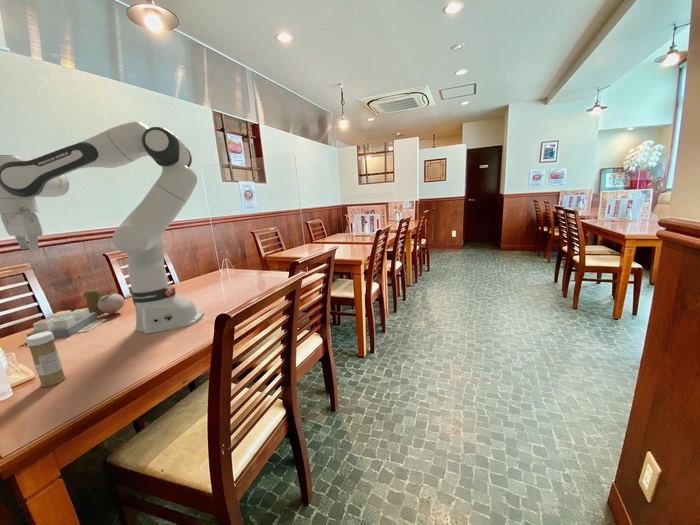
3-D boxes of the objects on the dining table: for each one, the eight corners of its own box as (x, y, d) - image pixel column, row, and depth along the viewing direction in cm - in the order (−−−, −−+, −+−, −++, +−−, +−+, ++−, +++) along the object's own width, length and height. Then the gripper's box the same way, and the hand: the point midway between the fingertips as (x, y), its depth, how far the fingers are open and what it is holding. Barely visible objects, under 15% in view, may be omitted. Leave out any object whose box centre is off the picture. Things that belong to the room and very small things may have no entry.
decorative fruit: (121, 316, 115) (115, 293, 113) (97, 319, 113) (91, 296, 111) (130, 308, 124) (125, 287, 122) (109, 311, 122) (103, 290, 120)
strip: (106, 319, 113) (106, 318, 112) (88, 331, 102) (88, 330, 102) (96, 321, 112) (95, 319, 112) (77, 333, 101) (76, 331, 101)
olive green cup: (95, 317, 116) (88, 292, 114) (84, 316, 117) (77, 292, 115) (110, 311, 122) (104, 287, 120) (99, 311, 123) (93, 287, 121)
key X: (76, 324, 104) (73, 315, 103) (68, 328, 100) (65, 319, 99) (63, 326, 103) (61, 316, 102) (55, 330, 99) (52, 321, 98)
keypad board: (98, 318, 114) (96, 312, 113) (70, 336, 99) (67, 328, 98) (63, 323, 111) (61, 316, 111) (29, 342, 96) (26, 334, 95)
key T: (58, 326, 102) (55, 317, 102) (49, 331, 99) (46, 321, 98) (44, 328, 102) (42, 319, 101) (35, 333, 98) (32, 323, 97)
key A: (73, 318, 110) (70, 309, 109) (66, 322, 106) (63, 313, 105) (61, 319, 109) (58, 311, 108) (53, 324, 105) (50, 314, 105)
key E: (90, 316, 111) (88, 307, 111) (83, 320, 108) (81, 311, 107) (78, 317, 110) (76, 309, 110) (71, 321, 107) (68, 312, 106)
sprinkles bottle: (40, 383, 72) (24, 336, 69) (65, 374, 75) (51, 329, 72) (41, 390, 69) (25, 341, 66) (67, 380, 72) (52, 333, 69)
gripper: (42, 206, 88) (54, 249, 91) (21, 208, 98) (32, 246, 101) (13, 207, 83) (26, 252, 86) (-7, 208, 92) (6, 249, 95)
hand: (29, 249), depth 93 cm, fingers open, 8 cm apart
